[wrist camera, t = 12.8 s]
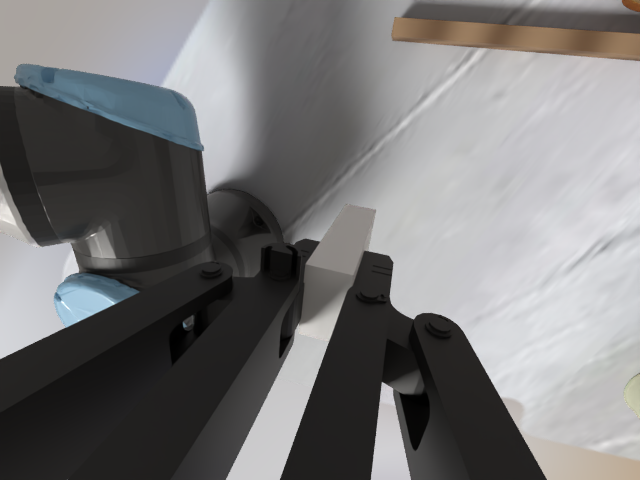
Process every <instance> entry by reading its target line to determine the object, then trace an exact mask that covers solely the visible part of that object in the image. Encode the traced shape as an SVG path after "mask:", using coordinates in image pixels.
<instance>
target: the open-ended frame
mask: <svg viewBox="0 0 640 480" xmlns="http://www.w3.org/2000/svg"><path fill="white" fill-rule="evenodd" d="M391 36H392V39H393V41H405V42H417V43H429V44H441V45H453V46H465V47H477V48H489V49H501V50H514V51H526V52H538V53H550V54H562V55H574V56H586V57H598V58H610V59H623V60H635V61H640V34H634V33H619V32H605V31H590V30H575V29H560V28H546V27H531V26H516V25H502V24H487V23H472V22H457V21H443V20H428V19H413V18H399V17H395V18H394V24H393V30H392V35H391Z"/></svg>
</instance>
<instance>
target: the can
mask: <svg viewBox="0 0 640 480" xmlns="http://www.w3.org/2000/svg"><path fill="white" fill-rule="evenodd" d="M624 398H625V401H626V403H627V405H628V406H629V407H630V409H631V410H633V411H634V412H635V414H636V415H637V416H638V418H639V419H640V373H639V374H638V375H636V376H635V377H633V378H632V379H631V380H630V381H629V382H628V384H627V385H626V387H625V390H624Z"/></svg>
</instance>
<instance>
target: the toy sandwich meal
mask: <svg viewBox="0 0 640 480" xmlns="http://www.w3.org/2000/svg"><path fill="white" fill-rule="evenodd" d="M622 3H623V5H624V6H626V7H627V8H629V9H631V10H634V11H637V12H640V0H622Z"/></svg>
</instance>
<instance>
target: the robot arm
mask: <svg viewBox="0 0 640 480" xmlns="http://www.w3.org/2000/svg"><path fill="white" fill-rule="evenodd" d="M14 79H15V82H16V83H18V84H19V85H20V87H8V86H7V87H6V86H0V233H3V234H7V235H10V236H12V237H15V238H17V239H19V240H21V241H23V242H26V243H27V244H30V245H32V246H34V247H44V246H50V245H55V244H61V243H69V242H70V243H71V245H72V248H73V251H74V254H75V257H76V261H77V264H78V267H79V273H75V274H72V275H70V276H68V277H66V278H65V280H64V282H62V283H61V284H60V285H59V286H58V288H57V292H56V293H55V295H54V304H55V308H56V311H57V314H58V316H59V317H60V319H61V321H62V322H63V324H64V325H65V327H66V328H64V329H62V330H60V331H58V332H56V333H54V334H52V335H50V336H48V337H46V338H43V339H42V340H39V341H37V342H35V343H33V344H31V345H29V346H27V347H25V348H23V349H21V350H18V351H16V352H14V353H12V354H10V355H8V356H6V357H4V358H2V359H0V480H226V478H227V476H228V474H229V472H230V470H231V468H232V466H233V463H234V461H235V460H236V458H237V455H238V454H239V452H240V450H241V448H242V446H243V444H244V442H245V440H246V437H247V435H248V434H249V431H250V429H251V427H252V425H253V423H254V421H255V419H256V417H257V415H258V413H259V411H260V409H261V407H262V405H263V403H264V401H265V399H266V397H267V395H268V393H269V391H270V389H271V387H272V385H273V383H274V381H275V379H276V377H277V375H278V373H279V371H280V369H281V367H282V365H283V363H284V361H285V359H286V357H287V355H288V353H289V351H290V349H291V347H292V345H293V341H294V334H295V329H296V327H297V326H298V324H299V331H298V333H299V334H302V335H306V336H309V337H313V338H317V339H320V340H324V341H327V342H329V344H328V346H327V349H326V352H325V355H324V358H323V360H322V363H321V366H320V369H319V372H318V374H317V377H316V380H315V383H314V386H313V388H312V391H311V394H310V397H309V400H308V403H307V405H306V408H305V411H304V414H303V417H302V419H301V422H300V425H299V428H298V431H297V433H296V436H295V439H294V442H293V445H292V448H291V450H290V453H289V456H288V459H287V461H286V464H285V467H284V470H283V473H282V476H281V478H280V480H371V472H372V463H373V454H374V446H375V436H376V428H377V419H378V410H379V402H380V393H381V384H382V382H383V383H385V384H387V385H388V386H390V387H392V388H393V396H394V401H395V405H396V410H397V415H398V419H399V423H400V429H401V433H402V438H403V442H404V448H405V453H406V457H407V462H408V467H409V471H410V476H411V480H547V479H546V477H545V476H544V474H543V472H542V470H541V469H540V467H539V465H538V463H537V461H536V460H535V458H534V456H533V454H532V453H531V451H530V449H529V447H528V445H527V444H526V442H525V440H524V438H523V437H522V435H521V433H520V431H519V430H518V428H517V426H516V424H515V423H514V421H513V419H512V417H511V416H510V414H509V412H508V410H507V408H506V407H505V405H504V403H503V401H502V399H501V398H500V396H499V394H498V392H497V391H496V389H495V387H494V385H493V384H492V382H491V380H490V378H489V376H488V375H487V373H486V371H485V369H484V368H483V366H482V364H481V362H480V361H479V359H478V357H477V355H476V353H475V352H474V350H473V348H472V346H471V345H470V343H469V341H468V339H467V338H466V336H465V334H464V332H463V331H462V330H461V328H460V327H459V326H458V325H457V324H456V323H454V322H453V321H452V320H450V319H448V318H446V317H444V316H441V315H438V314H433V313H422V314H420V315H417V316H416V318H415V319H414V320H413V319H411V318H409V317H407V316H405V315H403V314H401V313H400V312H399V311H397V310H396V309H395V308H394V307H393V306H392V304H391V301H390V297H389V296H390V288H391V279H392V270H393V261H392V260H391V258H390V257H389V256H387V255H383V254H378V253H373V252H369V251H368V249H369V243H370V238H371V233H372V228H373V223H374V218H375V213H376V210H374V209H369V208H364V207H359V206H353V205H348V204H346V205H345V206H344V208H343V209H342V211H341V212H340V214H339V215H338V217H337V218H336V220H335V221H334V223H333V224H332V225H331V227H330V228H329V230H328V231H327V233H326V234H325V236H324V237H323V239H322V240H321V242H319V241H314V240H309V239H303V240H300V241H298V242H296V243H295V244H294V245H291V244H288V243H283V237H282V233H281V230H280V227H279V224H278V222H277V220H276V219H275V217H274V216H273V214H272V213H271V212H270V210H269V209H268V208H267V207H266V206H265V205H264V204H263V203H262V202H260V201H259V200H258V199H256V198H255V197H253V196H251V195H249V194H247V193H245V192H242V191H238V190H230V189H226V190H219V191H216V192H213V193H211V194H208V195H207V192H206V184H205V175H204V166H203V158H202V151H204V147H203V145H202V144H201V142H200V136H199V130H198V124H197V118H196V113H195V109H194V107H193V105H192V104H191V102H190V101H189V100H188V99H187V98H186V97H185V96H184V95H182V94H180V93H178V92H176V91H174V90H171V89H167V88H163V87H159V86H154V85H150V84H145V83H140V82H135V81H130V80H125V79H119V78H115V77H109V76H104V75H98V74H92V73H86V72H80V71H74V70H67V69H58V68H51V67H43V66H39V65H33V64H21V65H19V66H18V67H17V68H16V75H15V76H14Z"/></svg>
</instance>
